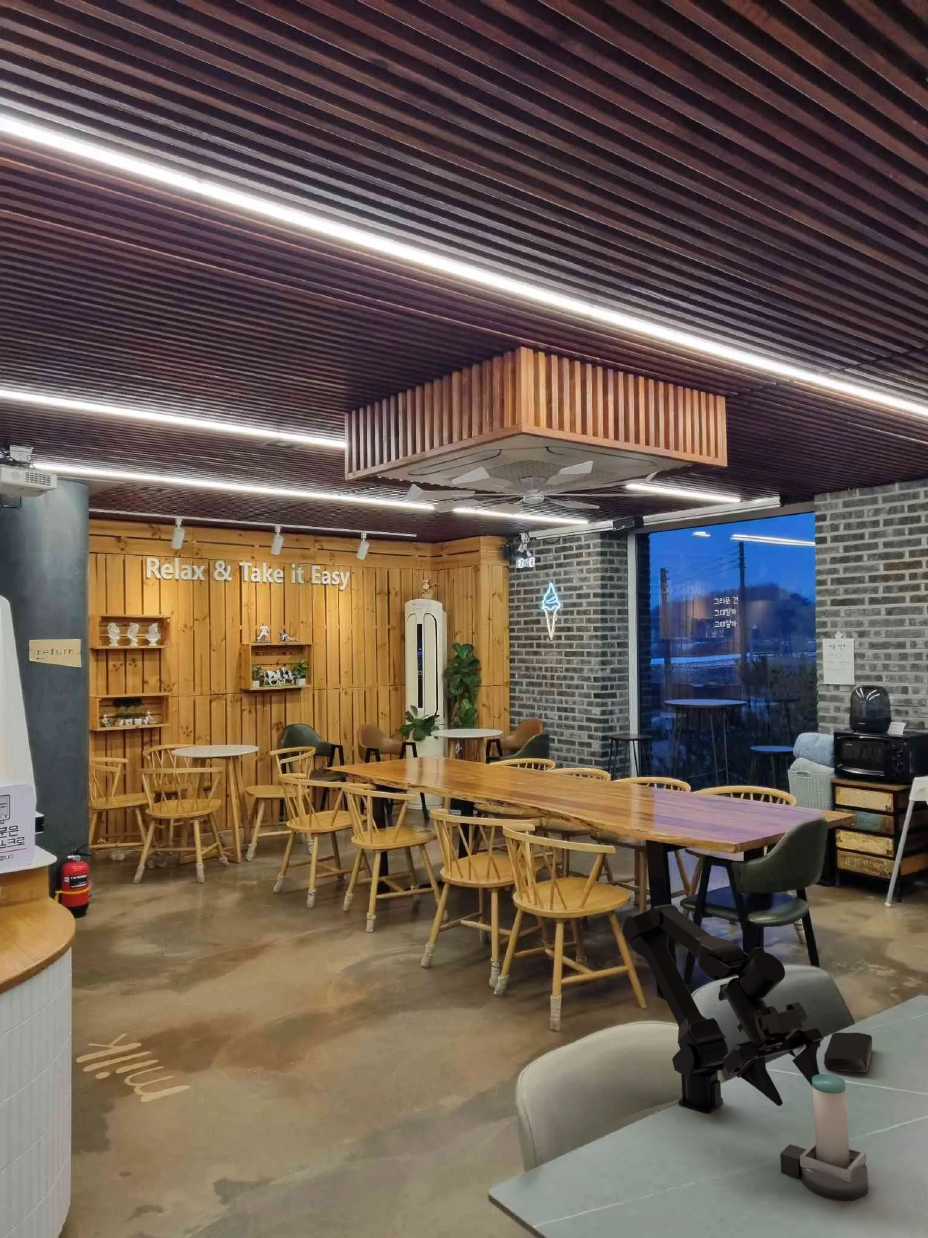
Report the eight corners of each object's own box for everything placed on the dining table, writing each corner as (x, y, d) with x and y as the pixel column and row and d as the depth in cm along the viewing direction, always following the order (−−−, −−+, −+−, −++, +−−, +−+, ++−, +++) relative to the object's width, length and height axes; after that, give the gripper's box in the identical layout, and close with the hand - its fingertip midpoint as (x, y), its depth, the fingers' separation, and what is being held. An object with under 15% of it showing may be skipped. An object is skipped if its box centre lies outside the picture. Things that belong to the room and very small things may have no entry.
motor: (773, 1180, 150) (772, 1151, 150) (797, 1155, 157) (796, 1128, 158) (856, 1208, 141) (854, 1177, 142) (877, 1181, 149) (875, 1152, 149)
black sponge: (867, 1079, 187) (866, 1061, 187) (823, 1072, 191) (822, 1054, 191) (874, 1051, 201) (873, 1033, 202) (832, 1045, 205) (831, 1028, 206)
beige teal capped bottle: (824, 1173, 146) (819, 1088, 147) (811, 1156, 151) (807, 1074, 152) (855, 1171, 146) (850, 1086, 147) (842, 1155, 151) (837, 1073, 152)
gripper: (732, 997, 156) (783, 1089, 146) (813, 979, 165) (867, 1065, 154) (703, 1029, 163) (750, 1120, 152) (782, 1010, 171) (832, 1095, 160)
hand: (801, 1099), depth 155 cm, fingers open, 9 cm apart
